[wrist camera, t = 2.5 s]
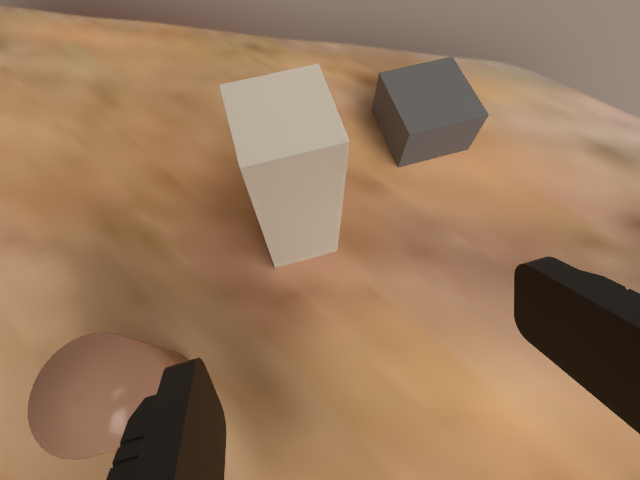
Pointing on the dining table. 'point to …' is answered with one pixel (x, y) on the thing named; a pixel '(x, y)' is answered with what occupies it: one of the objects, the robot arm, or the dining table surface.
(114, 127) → the dining table surface
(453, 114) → the grey squat block
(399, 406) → the dining table surface
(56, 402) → the pink rounded pebble
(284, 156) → the tall cream block
